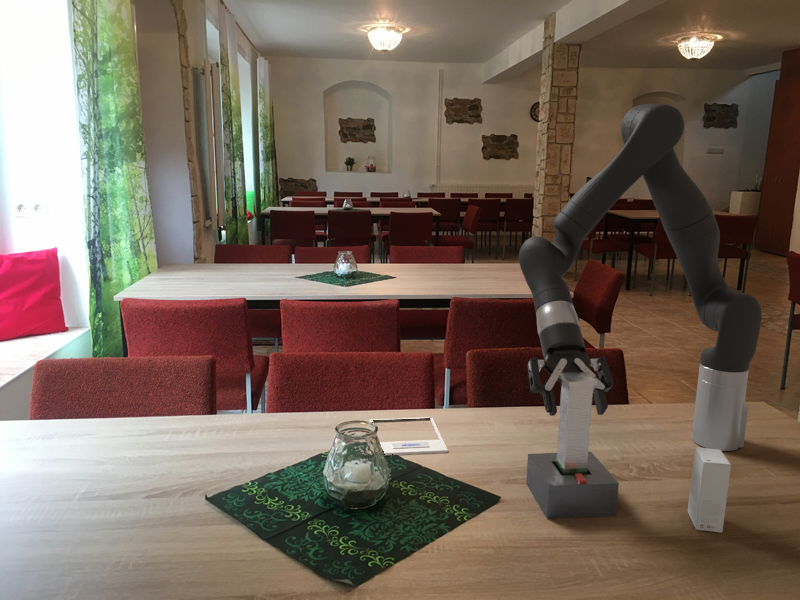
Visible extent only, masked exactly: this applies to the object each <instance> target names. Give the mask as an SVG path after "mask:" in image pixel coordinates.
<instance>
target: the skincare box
mask: <svg viewBox="0 0 800 600" xmlns="http://www.w3.org/2000/svg"><path fill="white" fill-rule="evenodd" d="M731 469H732V464H731V463H730V461H729V460H728V458H727V456H725V454H724V453H723V451H721V450H719V449H709V448H705V447H698V446H697V447H695V448H694V454H693V462H692V471H691V479H690V488H689V496H688V505H687V513H688V516H689V517H690V520H691V522H692V524H693V526H694V529H695V531H696V530H697V531H706V532H713V533H723V530H724V526H725V525H724V523H725V517H726V516H725V515H726V507H727V501H728V492H729V483H730V476H731Z"/></svg>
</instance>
